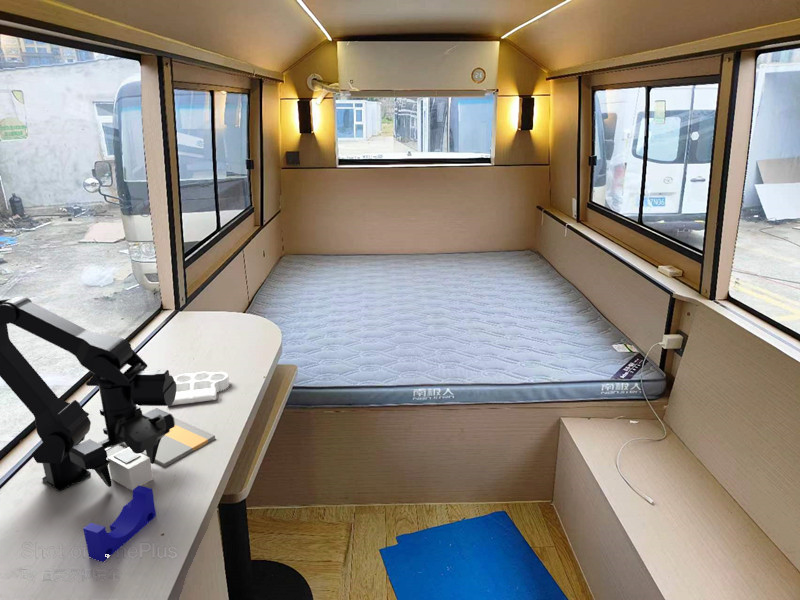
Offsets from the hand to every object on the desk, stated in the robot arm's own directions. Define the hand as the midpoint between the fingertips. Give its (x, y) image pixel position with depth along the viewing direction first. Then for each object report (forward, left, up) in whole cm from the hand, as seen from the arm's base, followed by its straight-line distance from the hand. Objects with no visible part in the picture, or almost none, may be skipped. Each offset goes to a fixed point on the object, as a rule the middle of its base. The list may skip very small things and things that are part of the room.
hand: (131, 474), depth 114 cm
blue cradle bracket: (-11, -13, -2) cm, 17 cm away
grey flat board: (+12, +8, -1) cm, 15 cm away
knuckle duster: (+31, +21, -2) cm, 37 cm away
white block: (0, 0, -1) cm, 1 cm away
